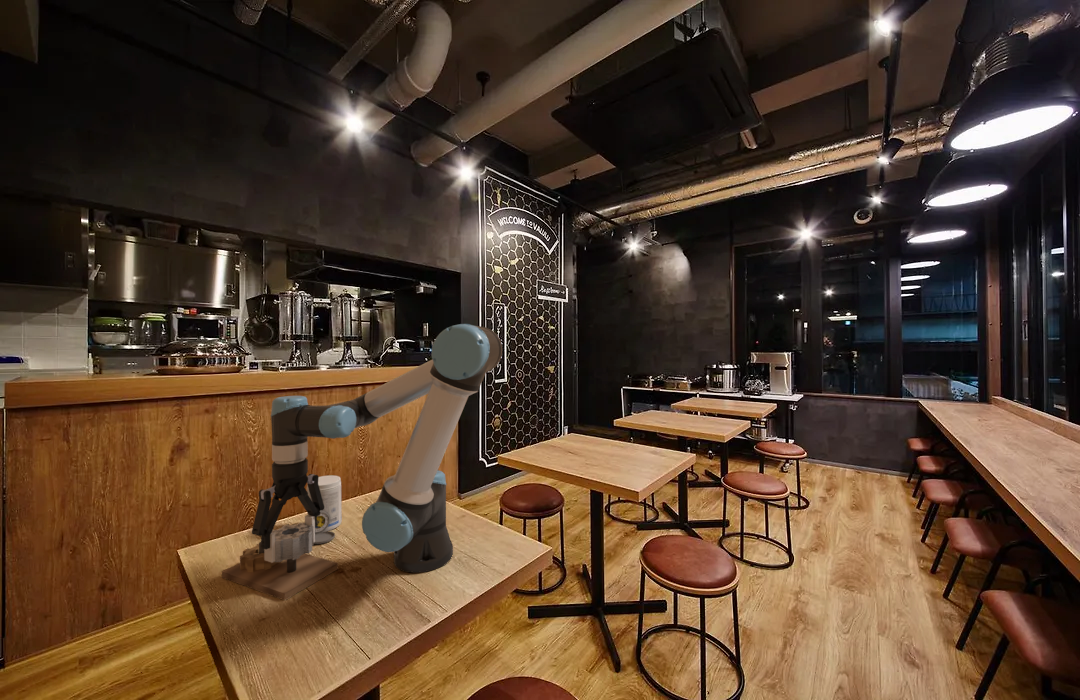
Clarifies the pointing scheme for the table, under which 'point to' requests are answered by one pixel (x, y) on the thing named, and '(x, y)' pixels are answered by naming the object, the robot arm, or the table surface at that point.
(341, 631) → the table surface
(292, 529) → the steel gear
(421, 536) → the robot arm
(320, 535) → the pocket watch
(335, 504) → the supplement tub
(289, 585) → the gear board
